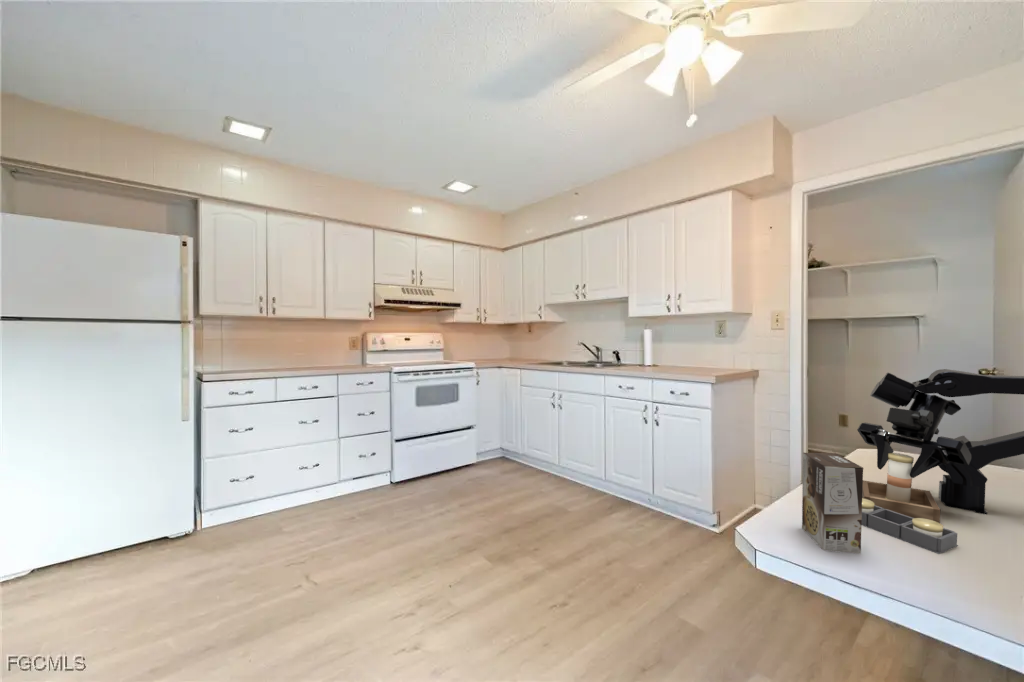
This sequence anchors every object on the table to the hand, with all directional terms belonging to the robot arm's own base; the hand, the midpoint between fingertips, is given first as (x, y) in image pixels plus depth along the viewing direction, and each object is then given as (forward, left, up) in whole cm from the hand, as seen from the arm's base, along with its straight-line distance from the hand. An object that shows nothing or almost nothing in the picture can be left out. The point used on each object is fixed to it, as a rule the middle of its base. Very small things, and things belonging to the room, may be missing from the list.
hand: (894, 472), depth 96 cm
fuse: (-3, +16, -8) cm, 18 cm away
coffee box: (+11, +25, -9) cm, 29 cm away
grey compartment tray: (+1, +13, -9) cm, 15 cm away
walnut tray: (-1, -1, -9) cm, 9 cm away
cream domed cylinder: (+6, +10, -8) cm, 14 cm away
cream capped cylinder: (-1, -1, -7) cm, 8 cm away
